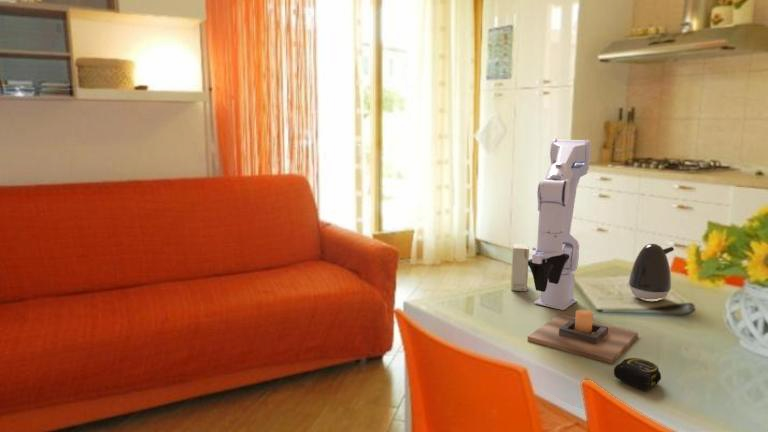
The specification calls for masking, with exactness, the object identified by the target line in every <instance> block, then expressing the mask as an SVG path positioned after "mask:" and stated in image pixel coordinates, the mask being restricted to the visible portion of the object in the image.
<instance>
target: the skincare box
mask: <svg viewBox="0 0 768 432" xmlns="http://www.w3.org/2000/svg"><path fill="white" fill-rule="evenodd" d="M529 253H530V247H529V245H528V244H525V243H513V244H512V257H511V258H512V259H511V279H510V289H511V291H515V292H516V291H519V292H527V291H528V278H529V277H528V275H529V265H528V260H530V258H529V257H530V254H529Z"/></svg>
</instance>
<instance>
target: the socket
mask: <svg viewBox="0 0 768 432" xmlns="http://www.w3.org/2000/svg"><path fill="white" fill-rule="evenodd" d="M638 336H639V332H638V331H634V330H630V329H625V328H623V327H622V328H621V327H618V326H614V325H609V324H604V323H601V322H597V321H593V322H592V334H587V333H583V332H579V331H575V316H571V315H566V314H563V313H559V314H557V315H556V316H554V317H553V318H552V319H550V320H549V321H547V322H546V323H545V324H542V326H540V327H539V328H538V329H536V330H535V331H533V332H532V333H529V335H527V339H526V340H527V342H531V343H535V344H537V345H542V346H547V347H549V348H552V349H557V350H560V351H563V352H566V353H570V354H574V355H578V356H582V357H584V358H588V359H593V360H597V361H599V362H603V363H607V364H611V365H612V364H613V363H615V361H616V360H617V359H618V358H619V357H620V356H621V355H622V354H623V353H624V352H625V351H626V349H628V348H629V346H630V345H631V344H632V343H633V342H634V341H635V340H636V339H637V337H638Z"/></svg>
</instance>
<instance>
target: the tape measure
mask: <svg viewBox="0 0 768 432" xmlns="http://www.w3.org/2000/svg"><path fill="white" fill-rule="evenodd" d="M659 369H660V368H659V367H658V365H657V364H655V363H654V362H652V361H649V360H647V359H643V358H638V357H631V358H629V357H628V358H625V359H623V360H622V361H621V362H620V363H618V364H617V365H615V366H614V369H613V375H614V377H616V379H618V380H620V381H622V382H625V383H626V384H627V383H628V384H629V385H631V386H634V387H637V388H639V389H642V390H644V391H646V392H648V391H650V390H651V388H654V387H656V386H657V385H658V383H659V382H660V381H661V379H662V376H661V375H662V374H661V372H660V370H659Z"/></svg>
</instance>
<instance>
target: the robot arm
mask: <svg viewBox="0 0 768 432" xmlns="http://www.w3.org/2000/svg"><path fill="white" fill-rule="evenodd" d="M549 151H550V152H549V153H550V154H549V156H550V157H549V158H550V166H549V168H548V170H547V172H546V175H545V178H544V179H543V180H542V181H539V183H538V186H537V192H536V193H537V211H538V227H537V228H538V229H537V243H536V245H535V246H532V251H534V253H532V257H531V259H530V258H529V260H528V268H529V269H530V271H531V274H532V278H533V283H534V288H535V291H537V292H540V297H539V298H538V299H536V300H535V301H534V303H533V304H536V305H540V306H542V307H543V306H544V307H549V308H552V309H556V310H561V311H564V310H566V309H568V308H570V307H571V305H573V304H575V303H576V302H577V301H578V299H577V298H574V295H575V282H576V276H575V273H574V272H575V271H576V270H577V269H578V265H579V260H580V259H579V256H580V244H579V241H578V240H577V239H576V238H575V237H574V236H573V235H571V230H572V229H571V228H572V222H573V215H574V210H575V202H576V195H577V188H578V186H579V185H578V184H579V182H580V179H581V177H583V176H585V175H587V174H588V171H589V169H590V162H591V158H592V157H591V156H592V142H591V140H590V139H560V138H559V139H558V138H554V139H552V140H551V144H550V150H549Z"/></svg>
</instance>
